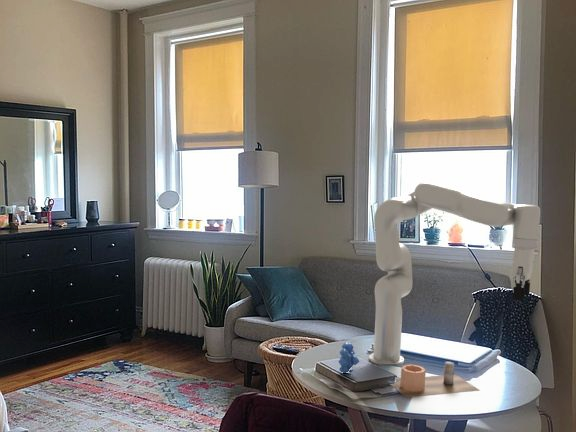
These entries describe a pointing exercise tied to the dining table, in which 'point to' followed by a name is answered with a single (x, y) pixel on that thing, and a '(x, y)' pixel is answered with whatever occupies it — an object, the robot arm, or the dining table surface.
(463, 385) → the stand
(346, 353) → the grapes
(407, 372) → the collar
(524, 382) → the dining table surface
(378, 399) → the dining table surface
